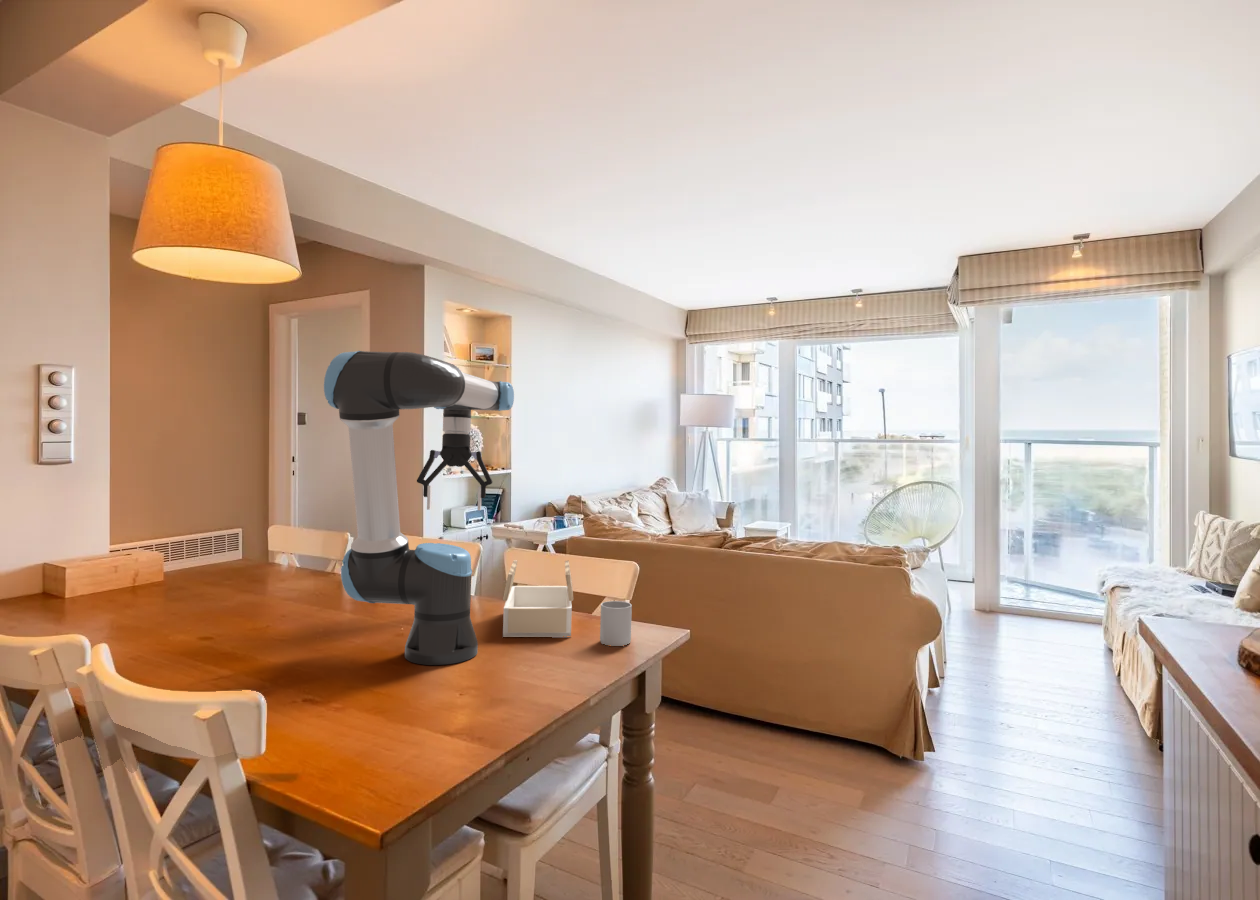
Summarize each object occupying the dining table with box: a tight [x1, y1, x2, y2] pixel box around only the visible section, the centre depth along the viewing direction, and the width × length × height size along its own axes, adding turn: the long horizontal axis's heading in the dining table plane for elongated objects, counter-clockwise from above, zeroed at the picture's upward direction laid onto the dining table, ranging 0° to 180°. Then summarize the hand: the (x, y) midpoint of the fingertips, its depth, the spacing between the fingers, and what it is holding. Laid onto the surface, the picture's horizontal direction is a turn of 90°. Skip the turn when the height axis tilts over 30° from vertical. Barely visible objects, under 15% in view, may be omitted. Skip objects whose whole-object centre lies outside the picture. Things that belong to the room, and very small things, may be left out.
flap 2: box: [564, 560, 574, 602], centre depth 169 cm, size 19×6×1 cm
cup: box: [599, 600, 633, 647], centre depth 156 cm, size 7×10×9 cm
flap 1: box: [502, 559, 518, 602], centre depth 168 cm, size 19×6×1 cm
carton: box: [502, 585, 573, 638], centre depth 168 cm, size 25×16×7 cm, turn 6°
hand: (454, 509), depth 184 cm, fingers open, 13 cm apart
